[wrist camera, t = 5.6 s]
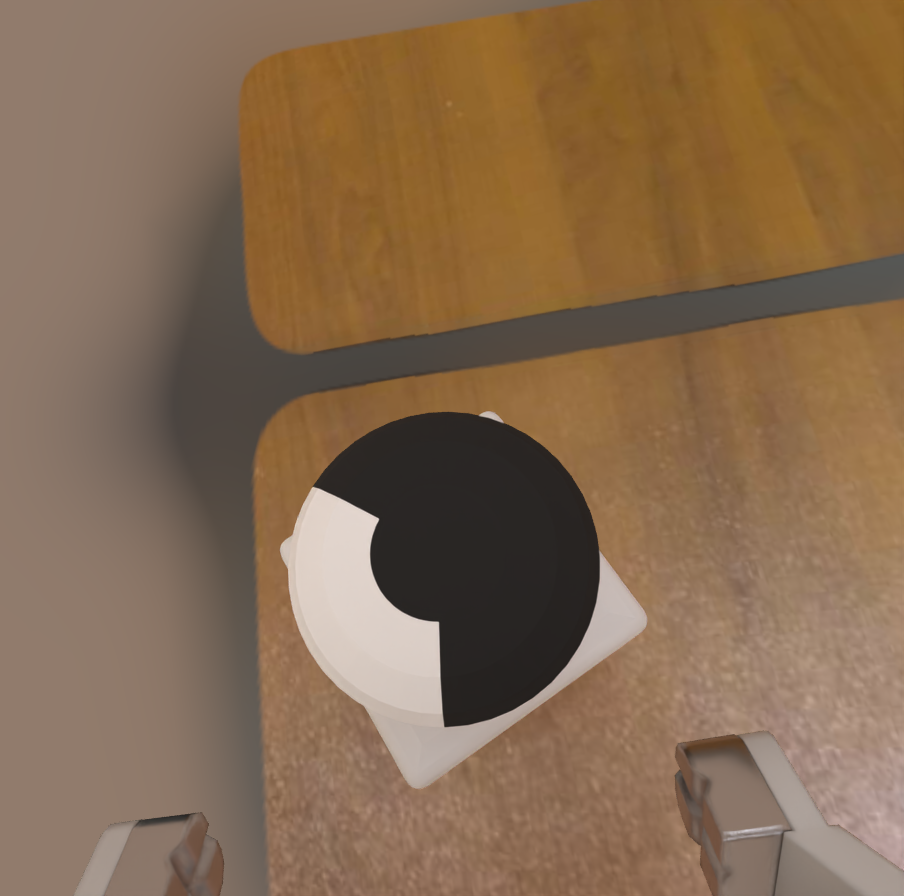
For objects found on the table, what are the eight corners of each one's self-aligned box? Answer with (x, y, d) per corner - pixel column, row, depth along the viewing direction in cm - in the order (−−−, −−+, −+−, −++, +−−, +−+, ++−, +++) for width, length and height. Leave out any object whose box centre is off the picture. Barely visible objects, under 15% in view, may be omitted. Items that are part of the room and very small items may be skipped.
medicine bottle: (494, 473, 24) (489, 310, 13) (608, 633, 22) (725, 607, 11) (337, 577, 23) (182, 500, 12) (440, 753, 21) (371, 865, 10)
